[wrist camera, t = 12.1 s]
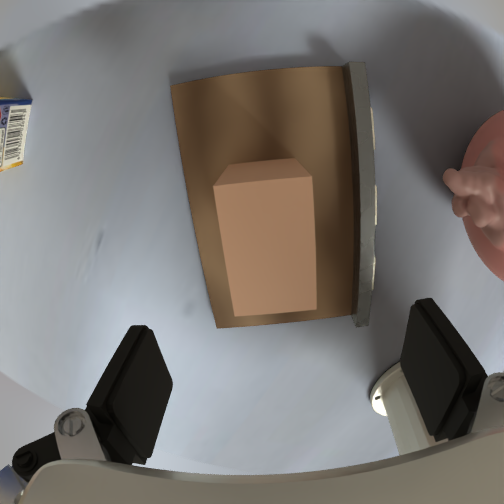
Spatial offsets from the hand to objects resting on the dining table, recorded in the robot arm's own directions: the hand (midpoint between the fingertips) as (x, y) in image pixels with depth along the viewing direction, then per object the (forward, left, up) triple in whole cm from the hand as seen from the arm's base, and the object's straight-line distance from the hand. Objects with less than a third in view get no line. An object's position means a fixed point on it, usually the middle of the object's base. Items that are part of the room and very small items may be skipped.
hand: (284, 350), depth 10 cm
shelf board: (0, 0, -17) cm, 17 cm away
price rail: (-7, 0, -17) cm, 18 cm away
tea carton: (0, 0, -15) cm, 15 cm away
